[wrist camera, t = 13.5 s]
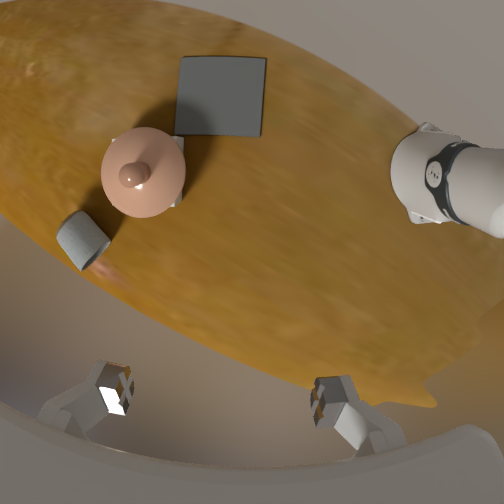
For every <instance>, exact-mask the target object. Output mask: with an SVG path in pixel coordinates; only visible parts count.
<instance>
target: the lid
mask: <svg viewBox="0 0 504 504" xmlns="http://www.w3.org/2000/svg"><path fill="white" fill-rule="evenodd" d="M185 179H186V163H185V158H184V155H183V153H182V150H181V148H180V147H179V145H178V144H177V142H176V141H175V140H174V139H173V138H172V137H171V136H170V135H168V134H167V133H165V132H163V131H161V130H159V129H155V128H150V127H139V128H134V129H131V130H128V131H126V132H124V133H123V134H121V135H120V136H118V137H117V138H116V139H115V140H114V141H113V142H112V144H111V145H110V146H109V148H108V149H107V151H106V153H105V156H104V159H103V162H102V168H101V180H102V185H103V188H104V191H105V193H106V196H107V197H108V199H109V200H110V202H111V203H112V204H113V205H114V206H115V207H116V208H117V209H118V210H120V211H121V212H123V213H124V214H127V215H129V216H132V217H138V218H147V217H152V216H155V215H158V214H160V213H162V212H163V211H165V210H166V209H168V208H169V207H170V206H171V205H172V204H173V203H174V202H175V201H176V200H177V198H178V197H179V195H180V193H181V191H182V189H183V186H184V183H185Z"/></svg>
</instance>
